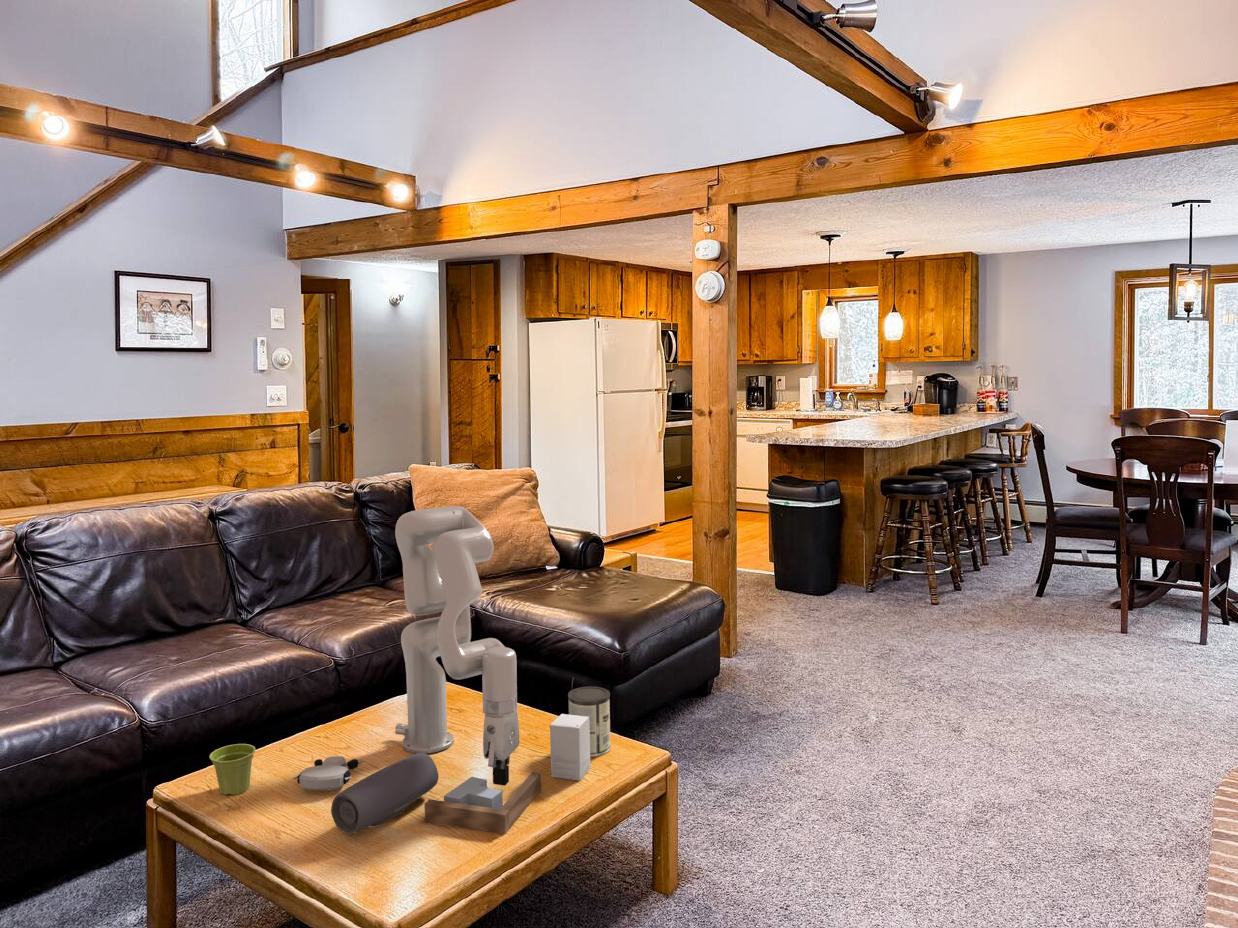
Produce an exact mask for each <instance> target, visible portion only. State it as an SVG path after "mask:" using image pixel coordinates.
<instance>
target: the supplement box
mask: <svg viewBox="0 0 1238 928" xmlns="http://www.w3.org/2000/svg"><path fill="white" fill-rule="evenodd" d="M549 732H550V733H549V734H550V737H549V738H550V744H549V745H550V766H551V767H550V768H551V769H550V773H551V775H550V776H551V778H557V779H565V780H572V781H577V782H580V781H581V780H582V779H583V778H584V777H585V776H586V775H587V773H588V772H589V771H590V770H591V757H590V722H589V717H586V716H577V715H569V713H568V714H565V713H561V714H560V715H559V716H558V717H556V719H554V720H553V721H552V722H551V723H550V724H549Z"/></svg>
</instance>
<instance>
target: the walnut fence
mask: <svg viewBox="0 0 1238 928" xmlns="http://www.w3.org/2000/svg"><path fill="white" fill-rule="evenodd" d="M541 791H542V772H538V771H532V772H530V774H529V775H528V776H527V777H526V779H524V781H523V782H522V783H521V784H520V785H519V787H518V788H516V790H515V791H514V792H513V793H512V794H511V796H510V797H509V798H508V799H507V800H506V801H505V803H503V806H502V807H501V808H500V809H496V808H489V807H482V806H474V805H467V804H460V803H453V802H445V801H444V800H438V799H428V800H426V802H425V803H424V823H428V824H429V823H430V824H436V825H442V826H451V827H456V828H463V829H470V830H475V831H476V830H477V831H484V832H491V833H498V834H507V833H508V831H509V830H510V829H511V828H512V827H513V825H514V824H515V823H516V822H517V820H518V819H519V818H520V817H521V815H522V814H523V813H524V812H525V810H526V809H527V808H528V807H529V806H530V805H531V804H532V802H533V800H534V799H535V798H536V797H537V796H538V794H540V792H541Z"/></svg>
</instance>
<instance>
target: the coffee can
mask: <svg viewBox="0 0 1238 928" xmlns="http://www.w3.org/2000/svg"><path fill="white" fill-rule="evenodd" d="M610 697H611V693H610V690H609V689H606V688H603V687H601V686H582V687H580V686H579V687H577V688H573V689H572V690H570V691H569V692H568V694H567V698H568V715H577V716H586V717H589V722H590V758H594V757H600V756H603V755H605V754H608V753H609V752H610V750H611V718H610V717H611V714H610V713H611V711H610V709H611V707H610V705H611V703H610Z"/></svg>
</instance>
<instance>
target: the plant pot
mask: <svg viewBox="0 0 1238 928" xmlns="http://www.w3.org/2000/svg"><path fill="white" fill-rule="evenodd" d="M255 752H256V746H254V745H251V744H247V743H237V744H236V743H235V744H230V745H229V744H228V745H225V746H223V747H220V748H217V749H214V751H212V752H211V753H210V754H209V760H210V761H211V763H212V764H213V766H214V770H215V775H216V779H217V783H218V787H219V792H220V794H221V795H224V796H226V795H233V796H234V795H238V794H242V793H244V792H245V791H247V790H248V789H249V788H250V785H251V784H250V783H251V774H252V773H251V772H252V762H253V759H254V754H255Z"/></svg>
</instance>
